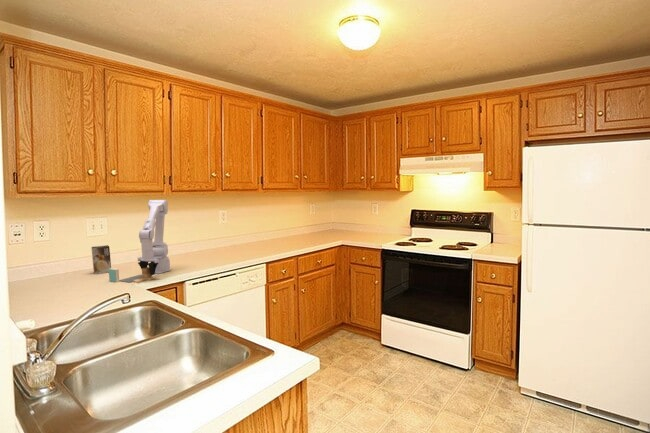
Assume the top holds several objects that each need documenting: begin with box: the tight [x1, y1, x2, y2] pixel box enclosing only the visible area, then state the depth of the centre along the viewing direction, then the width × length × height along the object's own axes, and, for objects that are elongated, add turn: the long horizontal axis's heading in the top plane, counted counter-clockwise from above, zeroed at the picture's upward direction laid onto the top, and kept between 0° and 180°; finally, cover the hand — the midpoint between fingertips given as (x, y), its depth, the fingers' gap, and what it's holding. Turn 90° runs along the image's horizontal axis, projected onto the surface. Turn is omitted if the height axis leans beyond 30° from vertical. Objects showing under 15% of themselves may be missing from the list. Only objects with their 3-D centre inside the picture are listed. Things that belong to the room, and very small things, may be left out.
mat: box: [119, 274, 142, 283], centre depth 209 cm, size 14×9×1 cm, turn 155°
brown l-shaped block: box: [132, 266, 154, 284], centre depth 205 cm, size 9×4×7 cm, turn 155°
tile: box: [108, 267, 120, 283], centre depth 204 cm, size 2×6×7 cm, turn 65°
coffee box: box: [91, 244, 112, 275], centre depth 225 cm, size 9×6×16 cm
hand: (148, 274), depth 208 cm, fingers open, 5 cm apart
